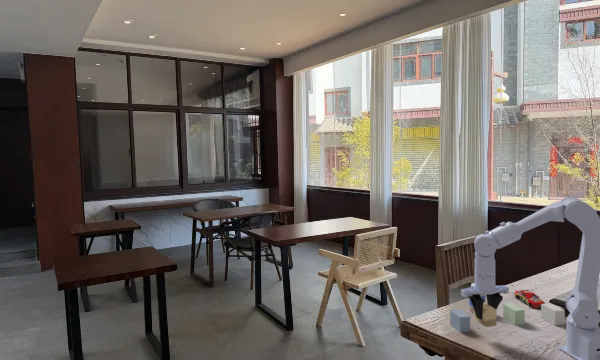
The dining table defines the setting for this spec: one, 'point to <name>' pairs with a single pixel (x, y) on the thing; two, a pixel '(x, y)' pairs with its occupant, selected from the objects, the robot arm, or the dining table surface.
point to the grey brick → (552, 314)
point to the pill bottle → (471, 303)
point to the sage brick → (514, 314)
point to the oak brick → (487, 316)
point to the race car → (529, 298)
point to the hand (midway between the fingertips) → (485, 317)
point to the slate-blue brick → (460, 320)
